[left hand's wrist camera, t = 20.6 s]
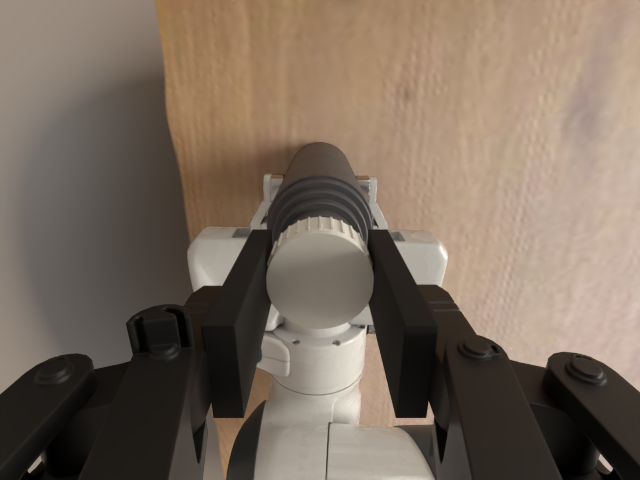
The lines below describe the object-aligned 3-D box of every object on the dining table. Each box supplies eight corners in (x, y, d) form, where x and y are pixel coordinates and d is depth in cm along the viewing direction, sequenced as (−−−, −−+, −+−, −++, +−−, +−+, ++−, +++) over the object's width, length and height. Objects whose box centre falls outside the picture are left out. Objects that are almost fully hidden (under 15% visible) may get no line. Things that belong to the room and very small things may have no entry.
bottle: (298, 208, 34) (270, 349, 14) (283, 150, 32) (225, 223, 13) (355, 194, 34) (405, 321, 14) (342, 135, 32) (379, 187, 12)
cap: (294, 198, 13) (290, 211, 12) (386, 239, 14) (396, 258, 12) (256, 283, 15) (247, 307, 13) (342, 317, 15) (345, 345, 14)
